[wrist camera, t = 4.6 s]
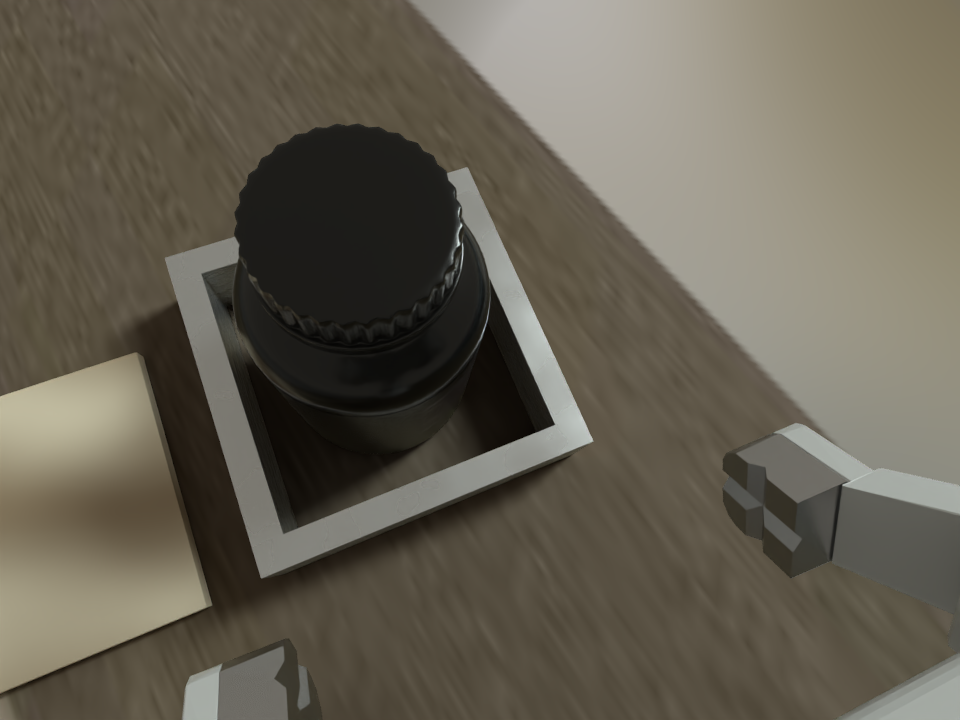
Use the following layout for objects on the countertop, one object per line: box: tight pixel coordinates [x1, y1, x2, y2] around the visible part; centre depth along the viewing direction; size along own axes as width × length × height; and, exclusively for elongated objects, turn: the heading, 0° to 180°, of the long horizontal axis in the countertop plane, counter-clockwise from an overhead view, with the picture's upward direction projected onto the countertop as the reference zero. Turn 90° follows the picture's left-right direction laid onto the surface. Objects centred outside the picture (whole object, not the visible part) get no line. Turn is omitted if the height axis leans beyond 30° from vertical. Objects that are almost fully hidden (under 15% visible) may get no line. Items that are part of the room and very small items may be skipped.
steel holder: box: [165, 168, 593, 579], centre depth 23 cm, size 12×12×3 cm
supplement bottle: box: [232, 124, 490, 455], centre depth 18 cm, size 7×7×12 cm
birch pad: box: [0, 352, 212, 694], centre depth 21 cm, size 10×10×1 cm
